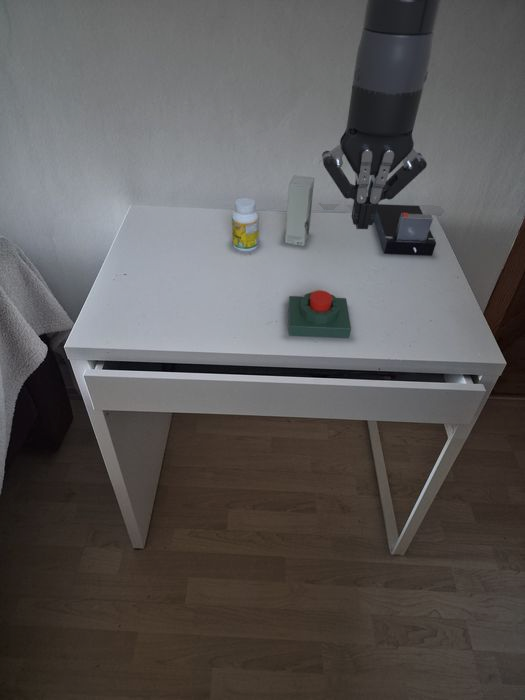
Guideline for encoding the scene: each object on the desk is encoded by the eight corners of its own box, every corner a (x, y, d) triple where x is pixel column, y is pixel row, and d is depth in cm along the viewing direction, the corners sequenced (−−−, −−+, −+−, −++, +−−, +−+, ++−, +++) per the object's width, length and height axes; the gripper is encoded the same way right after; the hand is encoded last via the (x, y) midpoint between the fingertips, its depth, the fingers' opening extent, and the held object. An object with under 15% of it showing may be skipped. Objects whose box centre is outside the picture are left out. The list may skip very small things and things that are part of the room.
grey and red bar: (424, 236, 92) (431, 213, 88) (425, 241, 91) (433, 217, 87) (395, 235, 92) (401, 212, 88) (396, 239, 91) (402, 216, 87)
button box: (344, 307, 80) (347, 289, 77) (348, 338, 74) (353, 320, 71) (288, 305, 80) (290, 287, 77) (288, 336, 74) (290, 317, 71)
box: (304, 247, 93) (310, 188, 84) (283, 243, 94) (288, 185, 85) (309, 234, 97) (315, 176, 88) (289, 231, 98) (293, 173, 88)
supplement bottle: (262, 248, 93) (264, 205, 86) (240, 254, 91) (239, 211, 84) (250, 236, 96) (250, 193, 89) (228, 242, 94) (226, 199, 87)
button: (330, 298, 76) (331, 290, 74) (331, 312, 73) (333, 304, 72) (308, 298, 76) (309, 289, 74) (309, 311, 73) (310, 303, 72)
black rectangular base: (436, 266, 90) (441, 252, 87) (386, 264, 90) (389, 250, 87) (416, 217, 103) (419, 204, 101) (372, 215, 104) (375, 203, 101)
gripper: (440, 73, 51) (404, 214, 63) (324, 70, 51) (310, 212, 63) (460, 91, 45) (416, 242, 57) (330, 88, 45) (313, 239, 57)
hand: (360, 226), depth 60 cm, fingers closed
